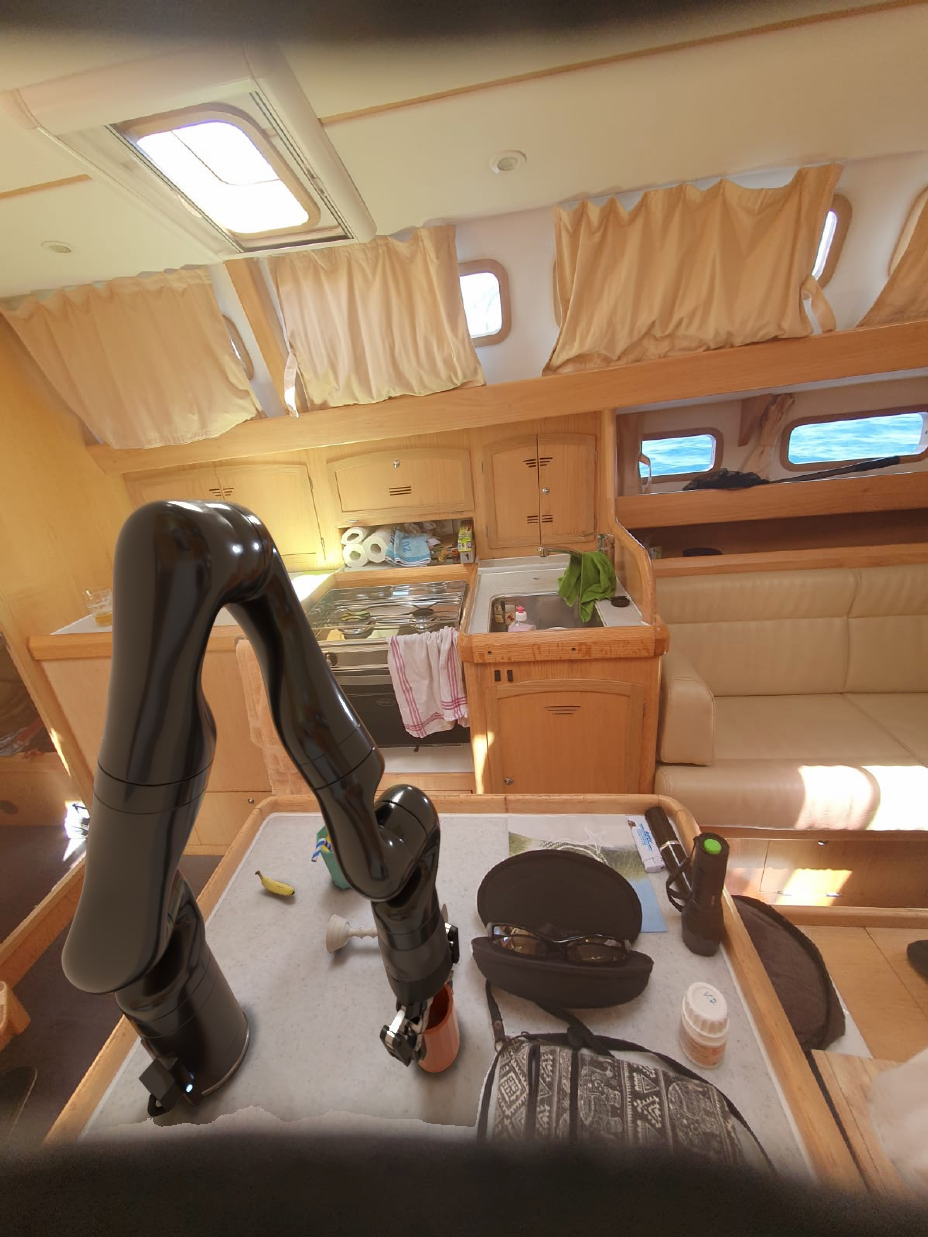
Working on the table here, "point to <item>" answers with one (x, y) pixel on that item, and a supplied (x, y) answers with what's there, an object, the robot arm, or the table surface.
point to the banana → (275, 886)
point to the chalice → (352, 931)
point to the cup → (328, 857)
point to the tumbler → (441, 1033)
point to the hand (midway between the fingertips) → (432, 1022)
